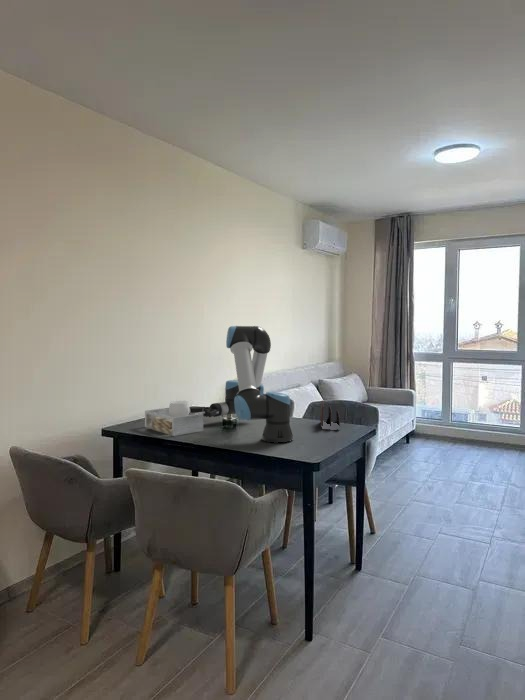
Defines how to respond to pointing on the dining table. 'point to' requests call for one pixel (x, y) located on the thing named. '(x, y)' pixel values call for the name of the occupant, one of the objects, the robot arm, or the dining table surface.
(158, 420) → the offcut bundle
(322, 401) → the letter holder
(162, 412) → the grey open storage bin
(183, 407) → the cup
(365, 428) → the dining table surface
